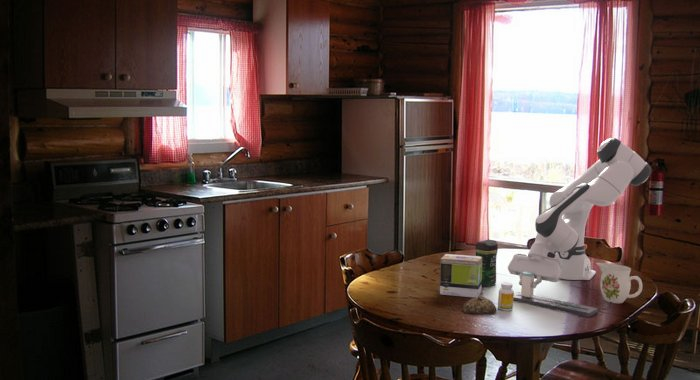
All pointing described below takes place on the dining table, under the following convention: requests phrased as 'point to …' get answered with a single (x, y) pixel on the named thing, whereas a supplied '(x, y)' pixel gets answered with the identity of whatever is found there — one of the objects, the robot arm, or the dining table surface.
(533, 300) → the fader track
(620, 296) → the pitcher
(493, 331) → the dining table surface
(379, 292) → the dining table surface
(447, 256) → the tea box
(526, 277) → the fader knob
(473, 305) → the bread roll
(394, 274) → the dining table surface
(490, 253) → the coffee jar
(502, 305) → the supplement bottle
